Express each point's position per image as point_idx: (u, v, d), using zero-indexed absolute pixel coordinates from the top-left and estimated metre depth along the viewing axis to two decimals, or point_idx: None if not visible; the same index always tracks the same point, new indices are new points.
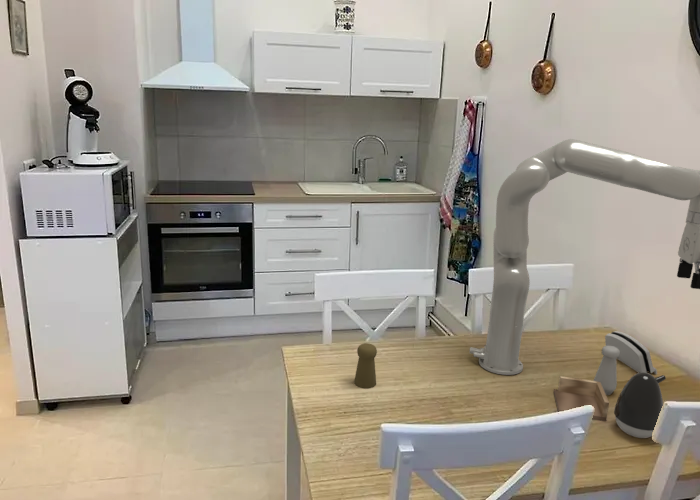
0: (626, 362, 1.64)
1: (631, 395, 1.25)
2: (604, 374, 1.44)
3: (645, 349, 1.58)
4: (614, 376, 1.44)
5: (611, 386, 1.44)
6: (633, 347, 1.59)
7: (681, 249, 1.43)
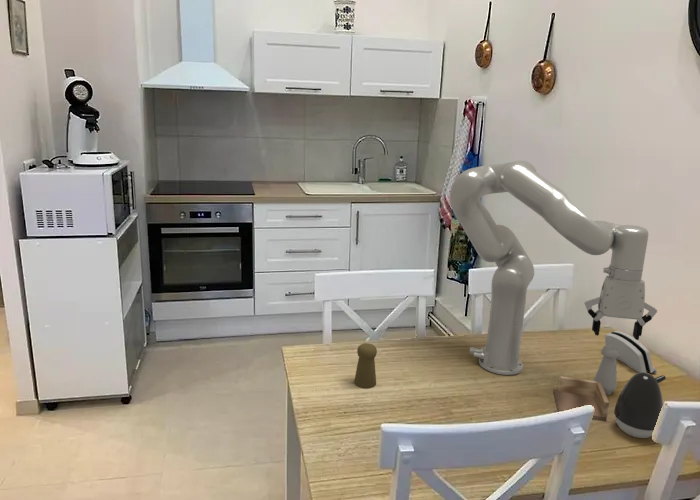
0: (626, 361, 1.64)
1: (631, 395, 1.25)
2: (604, 374, 1.44)
3: (645, 349, 1.58)
4: (614, 376, 1.44)
5: (611, 386, 1.44)
6: (633, 347, 1.59)
7: (612, 308, 1.39)
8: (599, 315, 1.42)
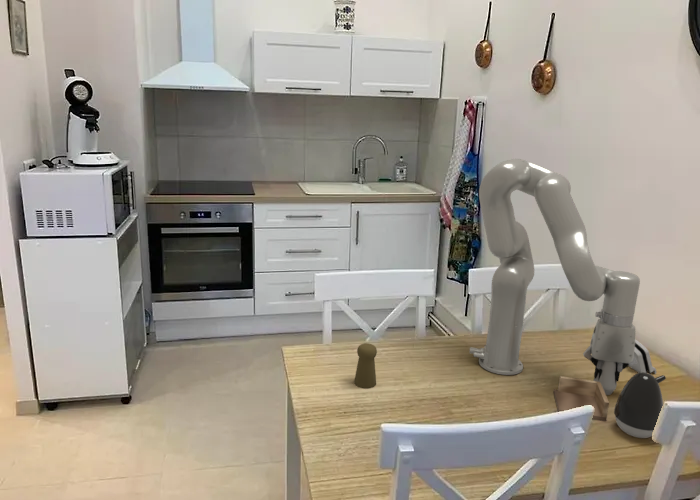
0: None
1: (631, 395, 1.25)
2: (604, 374, 1.44)
3: (644, 349, 1.58)
4: (614, 376, 1.44)
5: (611, 386, 1.44)
6: None
7: (603, 352, 1.42)
8: (599, 363, 1.45)
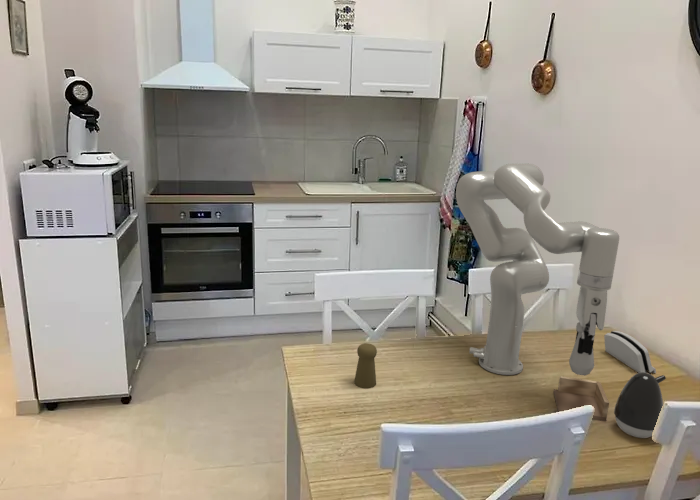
0: (625, 361, 1.64)
1: (631, 395, 1.25)
2: (592, 351, 1.33)
3: (644, 348, 1.58)
4: None
5: None
6: (632, 346, 1.59)
7: None
8: None
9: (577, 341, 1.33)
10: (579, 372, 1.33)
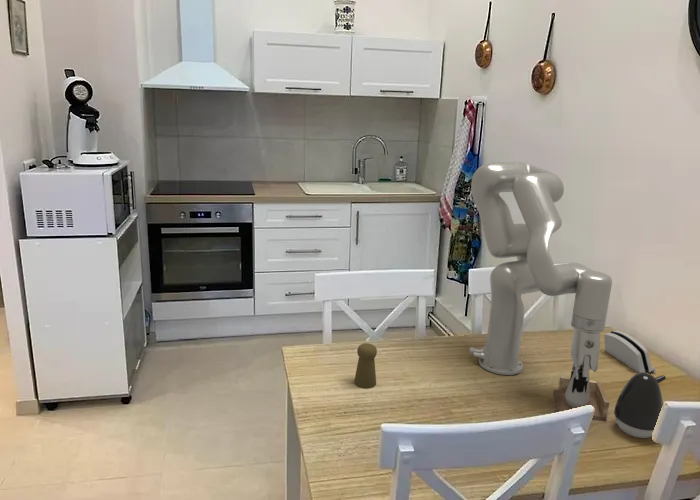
0: (625, 361, 1.64)
1: (631, 395, 1.25)
2: (588, 387, 1.35)
3: (643, 348, 1.58)
4: None
5: None
6: (631, 346, 1.59)
7: None
8: None
9: (574, 376, 1.35)
10: (574, 406, 1.35)
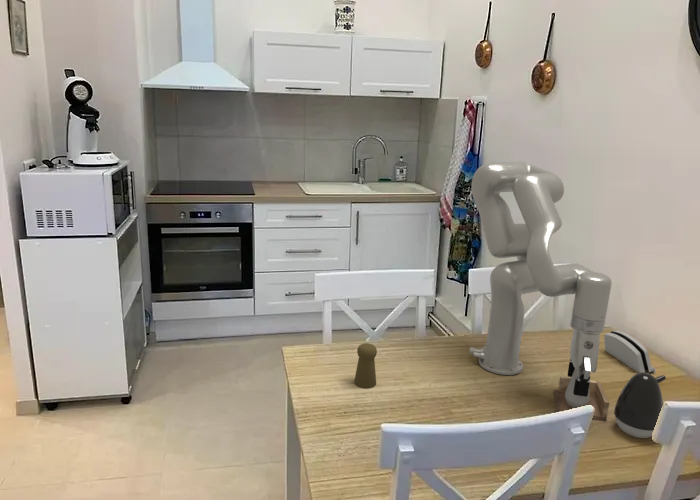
0: (625, 361, 1.64)
1: (631, 395, 1.25)
2: None
3: (643, 348, 1.58)
4: None
5: None
6: (631, 346, 1.59)
7: None
8: None
9: (574, 376, 1.35)
10: (574, 406, 1.35)
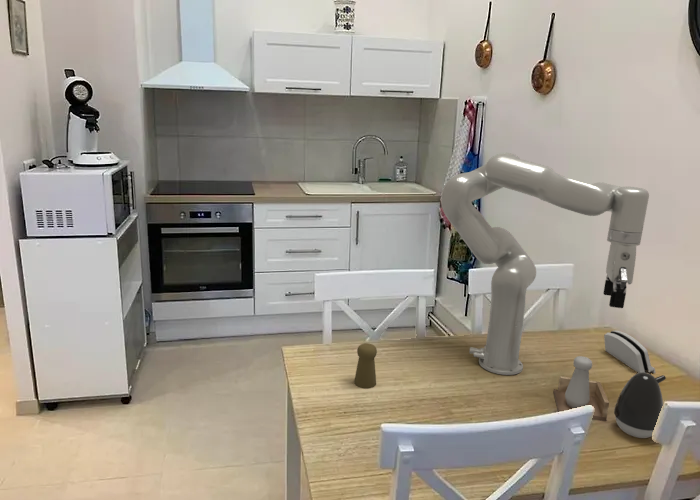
0: (625, 361, 1.64)
1: (631, 395, 1.25)
2: (588, 387, 1.35)
3: (643, 348, 1.58)
4: None
5: None
6: (631, 346, 1.60)
7: None
8: None
9: (574, 376, 1.35)
10: (574, 406, 1.35)
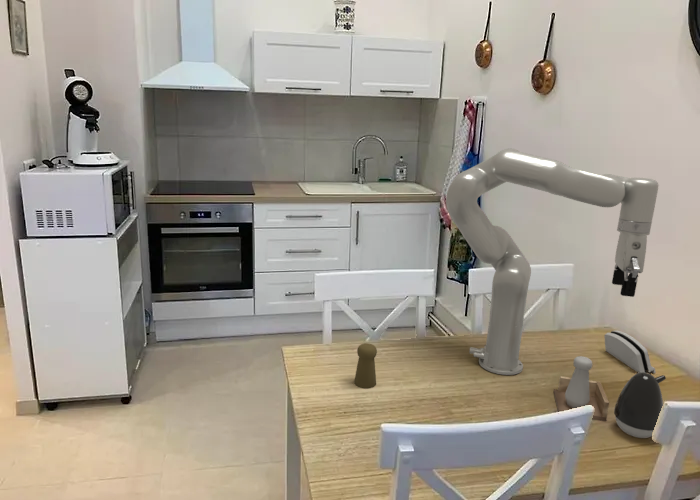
0: (625, 361, 1.64)
1: (631, 395, 1.25)
2: (588, 387, 1.35)
3: (643, 348, 1.58)
4: None
5: None
6: (631, 346, 1.60)
7: None
8: None
9: (574, 376, 1.35)
10: (574, 406, 1.35)
